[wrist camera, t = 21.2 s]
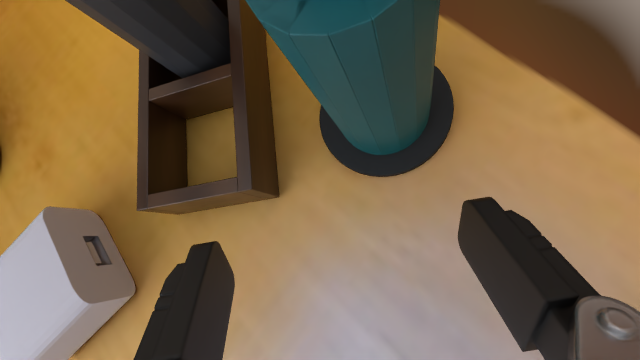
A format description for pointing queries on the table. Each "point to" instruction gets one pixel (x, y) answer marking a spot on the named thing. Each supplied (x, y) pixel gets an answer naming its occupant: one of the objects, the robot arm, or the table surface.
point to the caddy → (199, 99)
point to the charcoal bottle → (168, 30)
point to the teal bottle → (361, 62)
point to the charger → (59, 285)
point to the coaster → (405, 158)
